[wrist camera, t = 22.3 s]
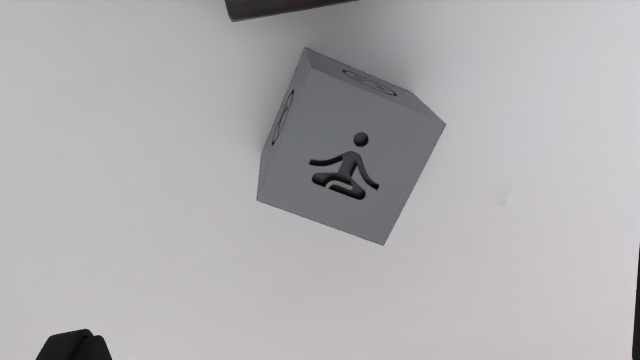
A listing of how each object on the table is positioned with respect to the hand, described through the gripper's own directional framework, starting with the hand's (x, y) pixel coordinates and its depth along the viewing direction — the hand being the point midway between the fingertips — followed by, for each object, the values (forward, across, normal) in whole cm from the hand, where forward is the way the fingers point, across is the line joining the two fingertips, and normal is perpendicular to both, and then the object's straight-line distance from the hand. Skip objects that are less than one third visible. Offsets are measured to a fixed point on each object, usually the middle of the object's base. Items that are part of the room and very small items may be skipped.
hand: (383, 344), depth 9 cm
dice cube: (+15, -1, 0) cm, 15 cm away
